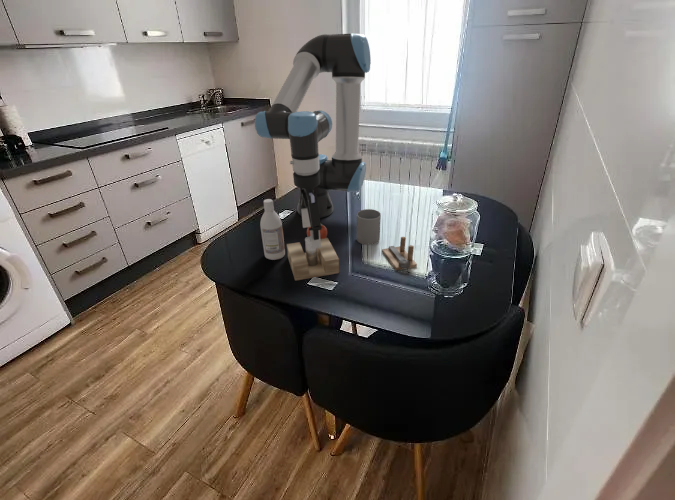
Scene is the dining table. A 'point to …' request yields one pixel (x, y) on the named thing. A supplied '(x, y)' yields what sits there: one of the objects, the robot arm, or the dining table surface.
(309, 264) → the pin
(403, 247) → the peg rack
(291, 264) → the slot block
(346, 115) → the robot arm
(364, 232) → the cup
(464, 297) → the dining table surface
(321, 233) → the tomato
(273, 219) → the bath foam
